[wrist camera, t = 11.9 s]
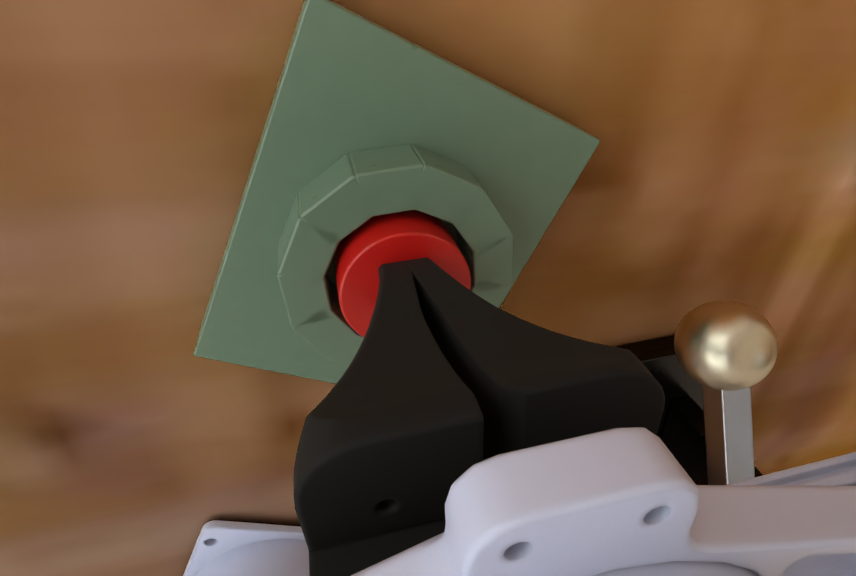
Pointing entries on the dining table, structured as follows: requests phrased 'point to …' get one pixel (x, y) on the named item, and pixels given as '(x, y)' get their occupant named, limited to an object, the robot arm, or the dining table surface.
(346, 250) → the button
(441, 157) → the switch box
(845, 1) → the dining table surface
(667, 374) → the switch bracket
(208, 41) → the dining table surface
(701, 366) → the lever
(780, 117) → the dining table surface
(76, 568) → the dining table surface
